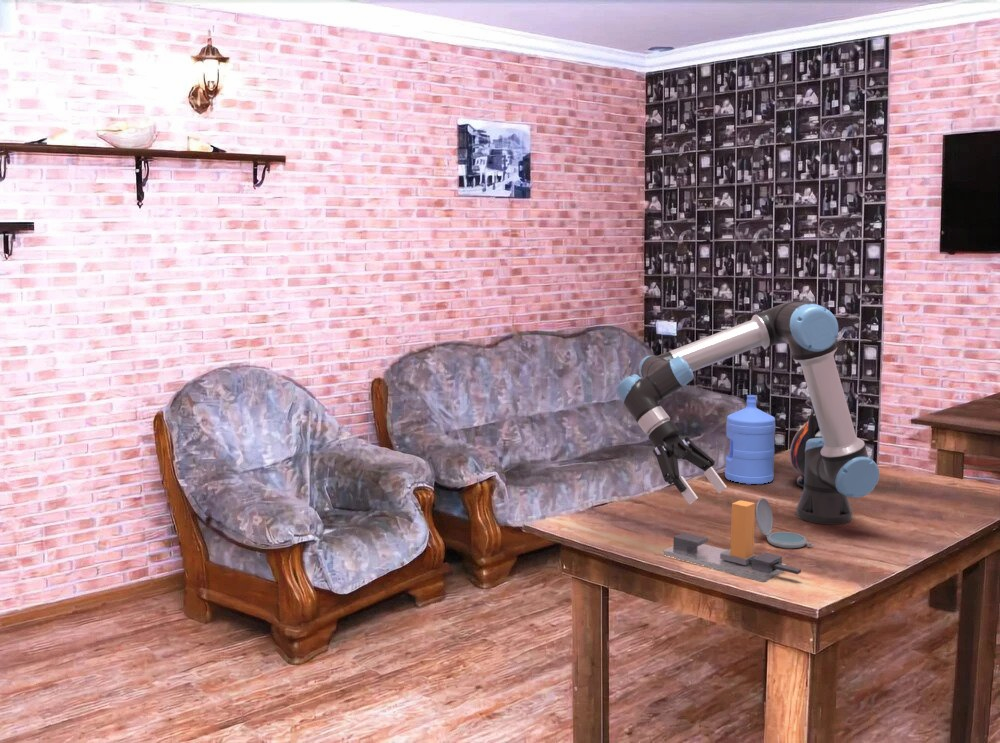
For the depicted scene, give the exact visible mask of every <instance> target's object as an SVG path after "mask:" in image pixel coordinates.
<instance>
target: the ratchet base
mask: <svg viewBox="0 0 1000 743" xmlns="http://www.w3.org/2000/svg"><path fill="white" fill-rule="evenodd" d="M708 542H709V538H708V537H706V536H705V537H704V536H701V535H696V534H693V533H689V532H688V533H687V532H682V533H680V534H677V535H675V536H673V542H672V543H673V544H672V545H673V546H670V547H667V548H665V549H664V550H663V554H662V555H666V556H670V557H674V558H676V559H675V560H677V559H680V560H679V561H681V560H684V561H683V562H685V561H689V562H692V563H696V564H699V565H698V566H700V565H704V566H707V567H706V568H708V567H710V568H709V569H711V568H713V569H712V570H715V569H716V570H715V571H719V570H720V572H723V571H724V573H726V574H727V573H728V574H731V575H735V576H739V577H742V578H747V579H751V580H754V581H759V582H762V583H765V582H767V581H769V580H770V579H772V578H774V577H776V576H778V575H780V574H781V573H784V572H785V571H782V570H778V569H774V568H773V564H775V563H777V564H781V565H785V566H787V564H786V563H783V556H781V555H778V554H773V553H770V552H769V553H768V552H766V551H765V552H763V553H761V554H759V555H756V557H755V558H753V559H752V563H749V564H747V565H742V564H738V563H734V562H730V561H726V560H722V559H720V553H722V552H724V551H727V550H728V549H724V548H721V547H716V546H714V545H708V544H706V543H708ZM692 563H691V564H692ZM696 564H695V565H696ZM704 566H703V567H704Z"/></svg>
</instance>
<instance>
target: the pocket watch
mask: <svg viewBox="0 0 1000 743" xmlns="http://www.w3.org/2000/svg"><path fill="white" fill-rule="evenodd" d="M773 517H774V516H773V511H772V507H771V505H770V502H769V501H768V500H767V499H766V498H761V499H759V500H758V502H757V503H756V505H755V520H756V525H757V528H758V529H759V531H760V532H761V533H762V535H765V536H766V538H767V539H766V540H767V541H768V543H769V544H770V545H772V546H774V547H778V548H781V549H792V550H793V549H800V548H803V547H805V546H806V545H807V547H813V546H815V544H814V543H813V542H808V540H807V538H806V537H805V535H802V534H799V533H796V532H788V531H777V532H772V529H773V524H774V518H773Z"/></svg>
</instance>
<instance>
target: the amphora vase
mask: <svg viewBox="0 0 1000 743" xmlns="http://www.w3.org/2000/svg"><path fill="white" fill-rule="evenodd" d="M846 402H847V405H848V406H849V402H848V401H847V400H846ZM805 404H806V405H807V406H809V407H810V408H811V412H810V414H809V417H808V420H807V421H806V422H805V423H804V424H803V425H802V426H801V427H800V428H799V429H797V431H796V433H795V435H794V437H793V439H792V441H791V442H790V443H791V444H790V447H789V448H790V449H789V460H790V464H791V466H792V468H793V470H794V471H795V472H796V474H797V475H799V477H797V479H796V484H797V485H798V486H800V487H802V488H803V489H804V472H805V448H806V442H807V441H808V440H809V439H812V438H822V435H821V432H820V428H819V425H818V422H817V418H816V415H815V411H814V408H813V404H812V401H811V398H808V399H806V401H805Z"/></svg>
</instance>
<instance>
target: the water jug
mask: <svg viewBox="0 0 1000 743" xmlns="http://www.w3.org/2000/svg"><path fill="white" fill-rule="evenodd" d="M725 426H726V427H725V428H726V438H728V439H729V451H728V452H729V453H728V454H727V455H726V456H725V470H724V476H725V478H726V479H727V480H728V481H730V480H731V481H730V482H732V481H734V482H733V483H735V482H739V483H738V484H740V483H746V484H745V485H751V484H757V485H765V484H764V483H766V484H769V483H771V482H772V481H773V480H774V477H775V473H774V469H775V468H774V465H775V464H774V462H775V460H774V459H775V434H776V418H775V417H774V416H773V415H771V414H769V413H767V412H765V411H763V410H761V409H759V408H757V395H755V394H747V395H746V406H745V408H742V409H740V410H738V411H735V412H733V413H731V414H729V415H727V417H726V425H725ZM768 482H769V483H768Z"/></svg>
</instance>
